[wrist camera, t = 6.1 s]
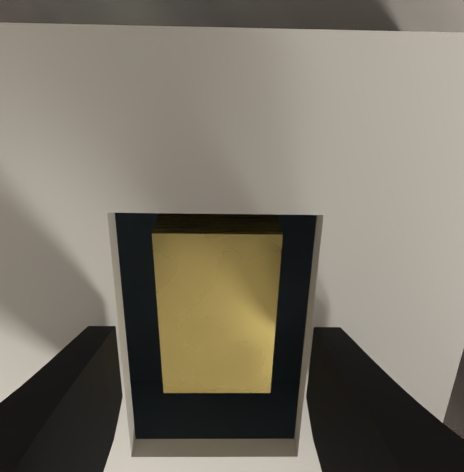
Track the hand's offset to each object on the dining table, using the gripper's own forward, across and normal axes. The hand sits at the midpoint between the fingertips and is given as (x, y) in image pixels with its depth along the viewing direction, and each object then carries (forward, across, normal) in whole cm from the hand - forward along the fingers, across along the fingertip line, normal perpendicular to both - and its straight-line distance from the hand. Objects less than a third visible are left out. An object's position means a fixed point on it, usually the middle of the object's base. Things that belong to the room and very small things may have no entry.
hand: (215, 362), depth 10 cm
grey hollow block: (+7, 0, 0) cm, 7 cm away
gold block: (+6, 0, -1) cm, 6 cm away
